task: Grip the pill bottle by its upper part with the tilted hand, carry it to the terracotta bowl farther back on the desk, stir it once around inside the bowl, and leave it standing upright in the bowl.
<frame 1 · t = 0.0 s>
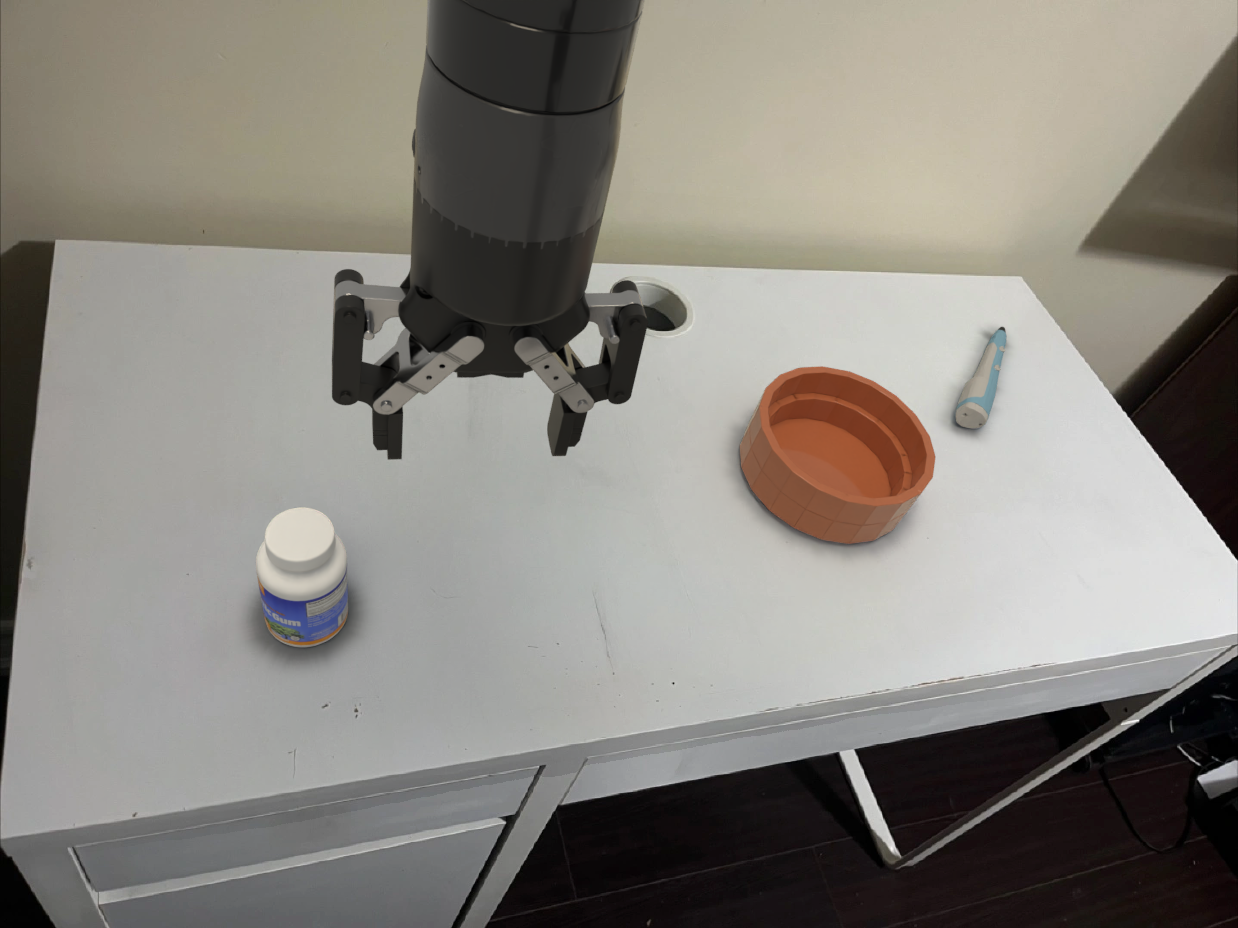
hand: (477, 445, 46), 20 cm above the table, tool pointing down, fingers open, 8 cm apart
white and blue rod: (978, 380, 92), on the table
bowl: (820, 475, 78), on the table
pill bottle: (308, 615, 59), on the table
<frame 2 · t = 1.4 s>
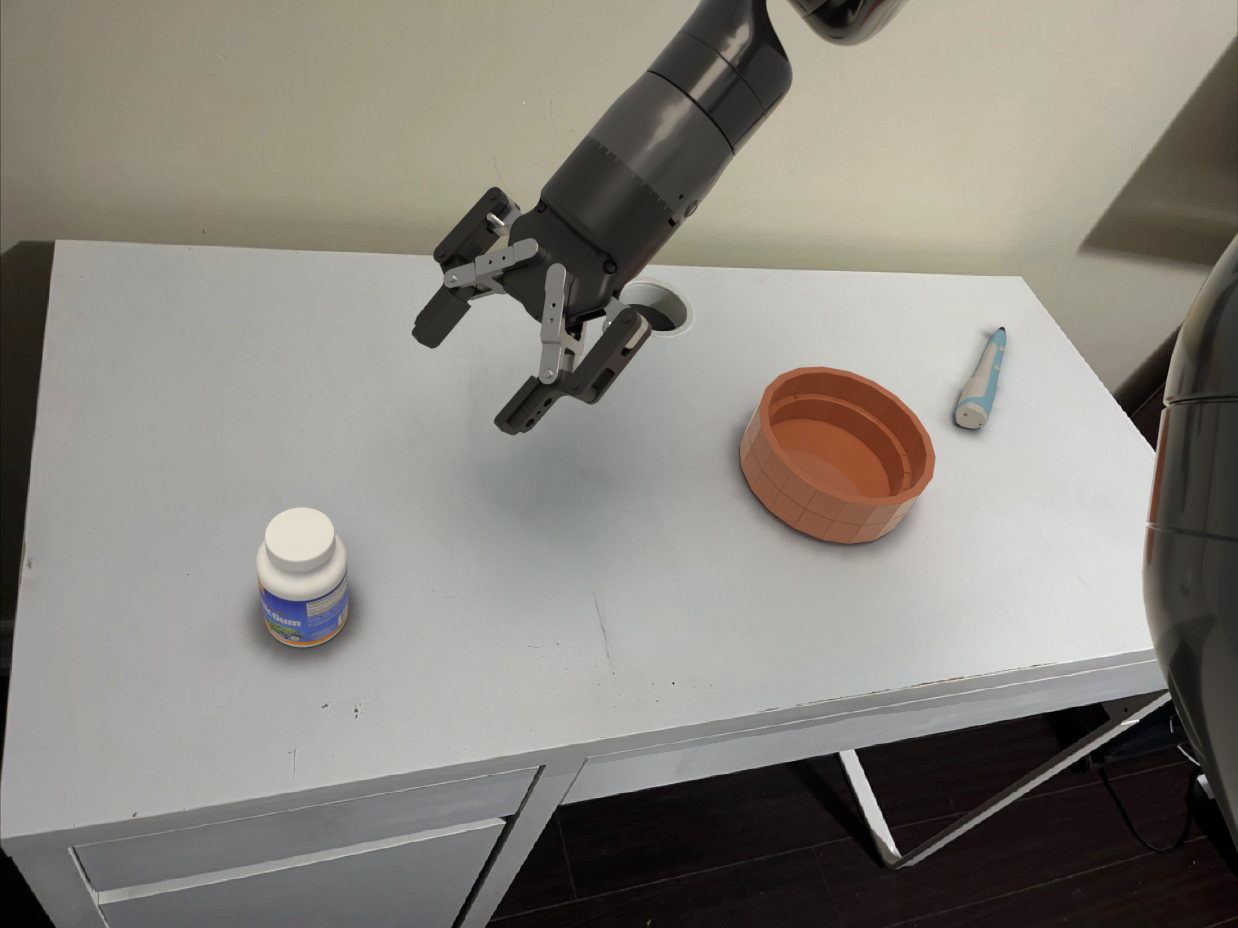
hand: (461, 385, 53), 17 cm above the table, tool tilted 45°, fingers open, 8 cm apart
nothing on the table moved.
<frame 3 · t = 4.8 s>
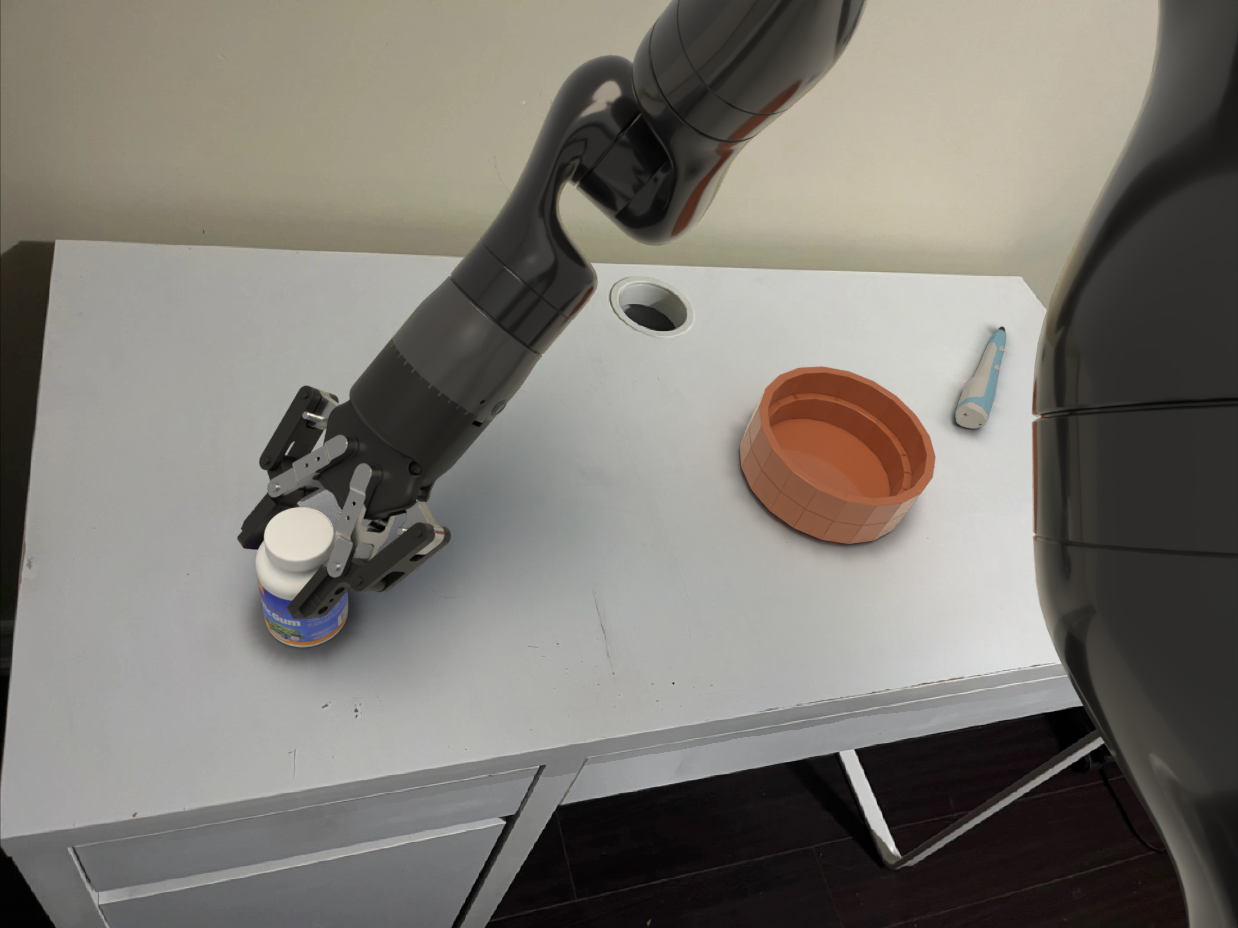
hand: (275, 579, 53), 6 cm above the table, tool tilted 45°, fingers closed on pill bottle, 5 cm apart
pill bottle: (308, 615, 59), on the table, touching gripper
everything else where it was.
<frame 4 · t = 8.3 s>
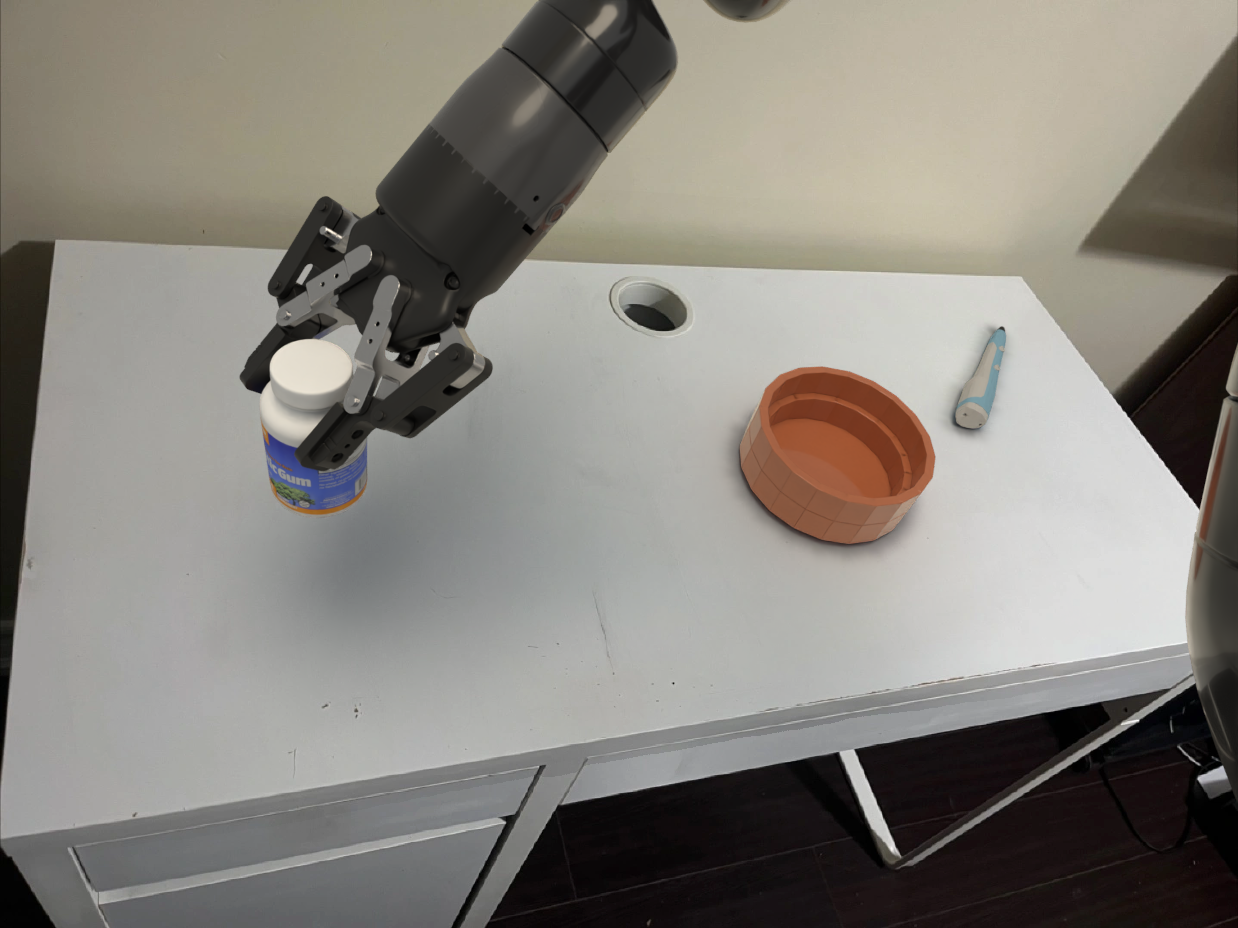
hand: (282, 425, 45), 19 cm above the table, tool tilted 45°, fingers closed on pill bottle, 5 cm apart
pill bottle: (320, 486, 51), point 13 cm above the table, touching gripper
everything else where it was.
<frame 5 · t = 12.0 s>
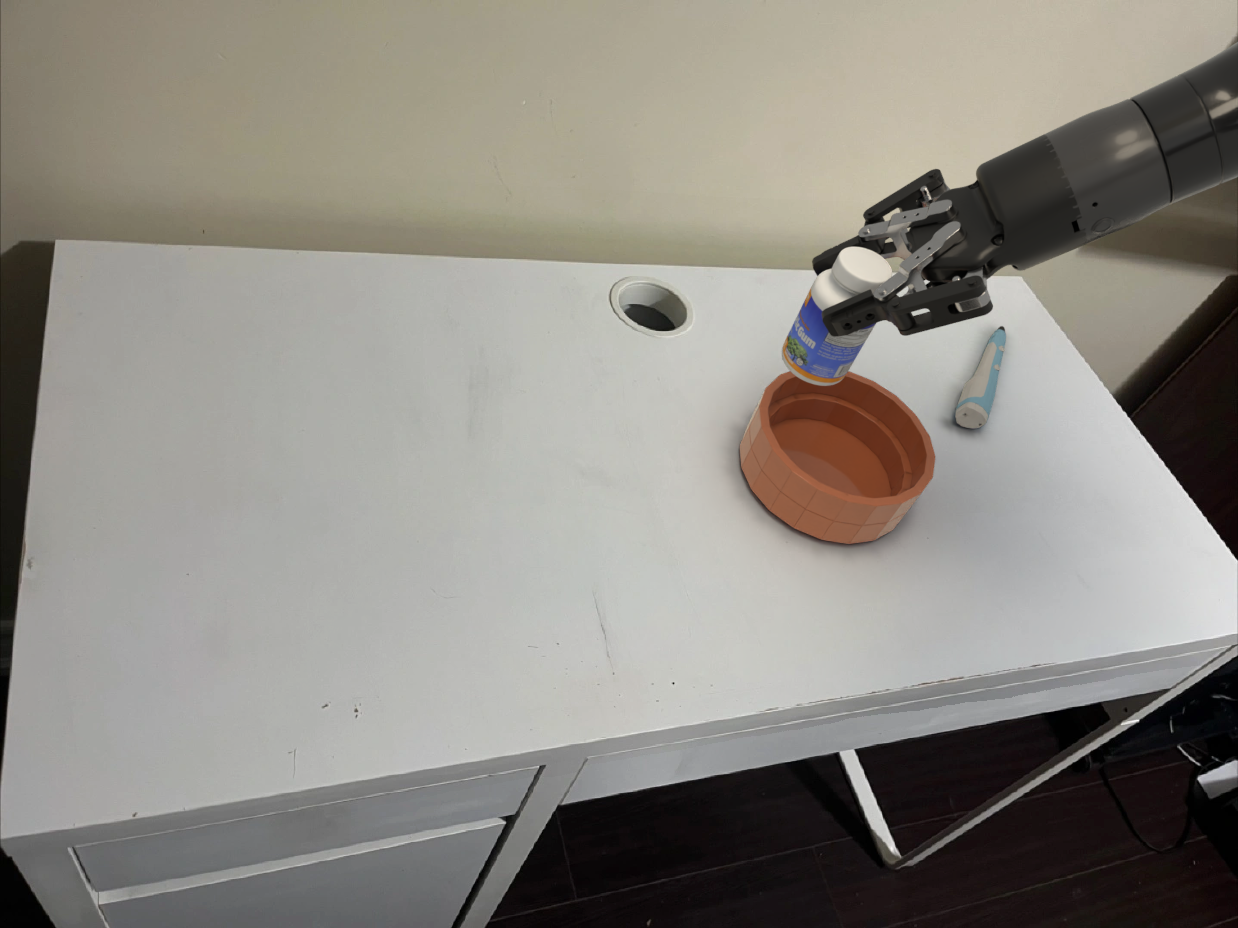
hand: (822, 297, 62), 19 cm above the table, tool tilted 45°, fingers closed on pill bottle, 5 cm apart
pill bottle: (812, 365, 67), point 13 cm above the table, touching gripper
everything else where it was.
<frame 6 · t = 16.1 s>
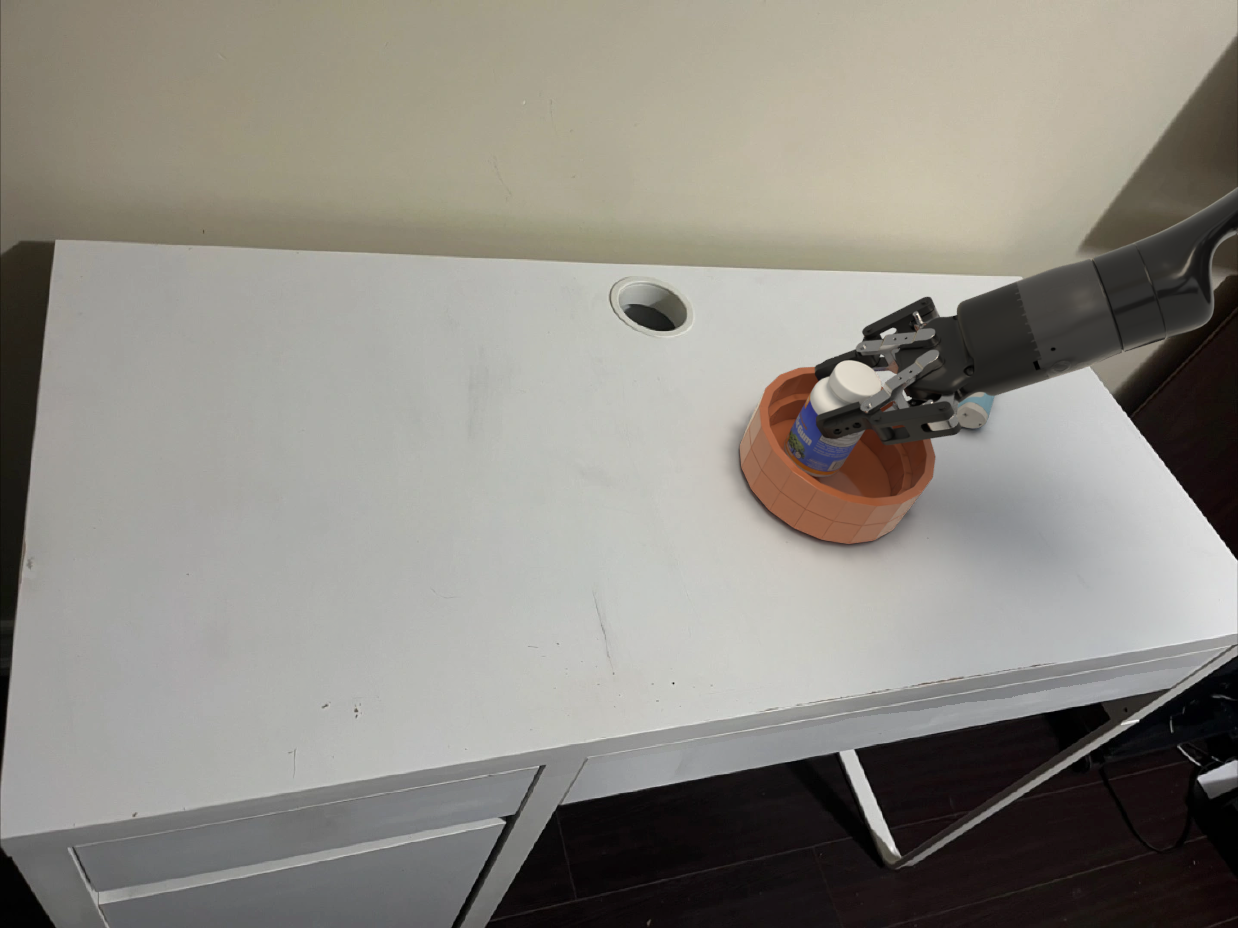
hand: (819, 402, 71), 9 cm above the table, tool tilted 45°, fingers closed on pill bottle, 5 cm apart
pill bottle: (811, 457, 76), point 2 cm above the table, touching gripper
everything else where it was.
when the fingers open (7 cm above the table, at t = 19.4 s): pill bottle stays where it is, resting on bowl.
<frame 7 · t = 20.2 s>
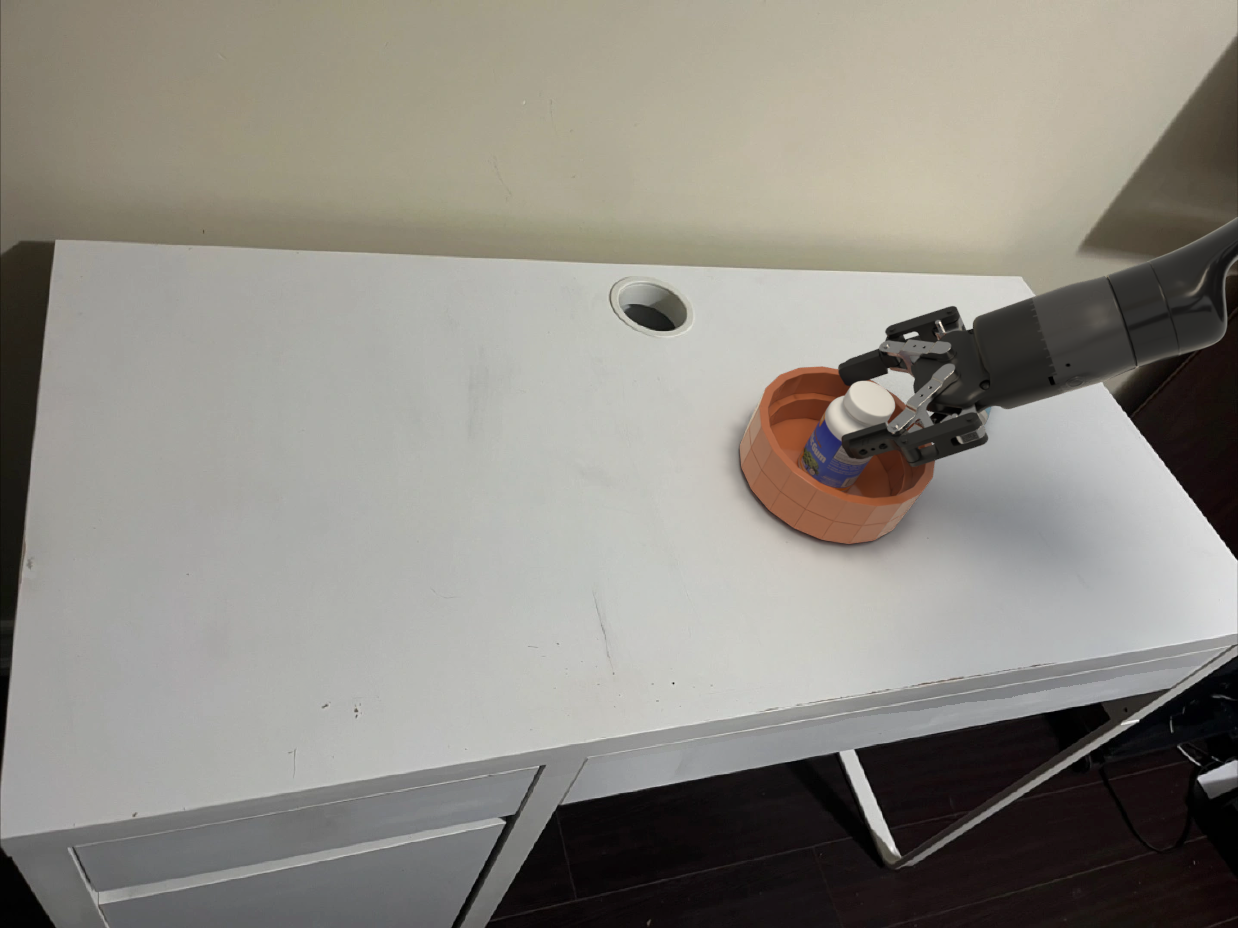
hand: (843, 410, 71), 8 cm above the table, tool tilted 45°, fingers open, 8 cm apart
pill bottle: (824, 473, 77), resting on bowl
everything else where it was.
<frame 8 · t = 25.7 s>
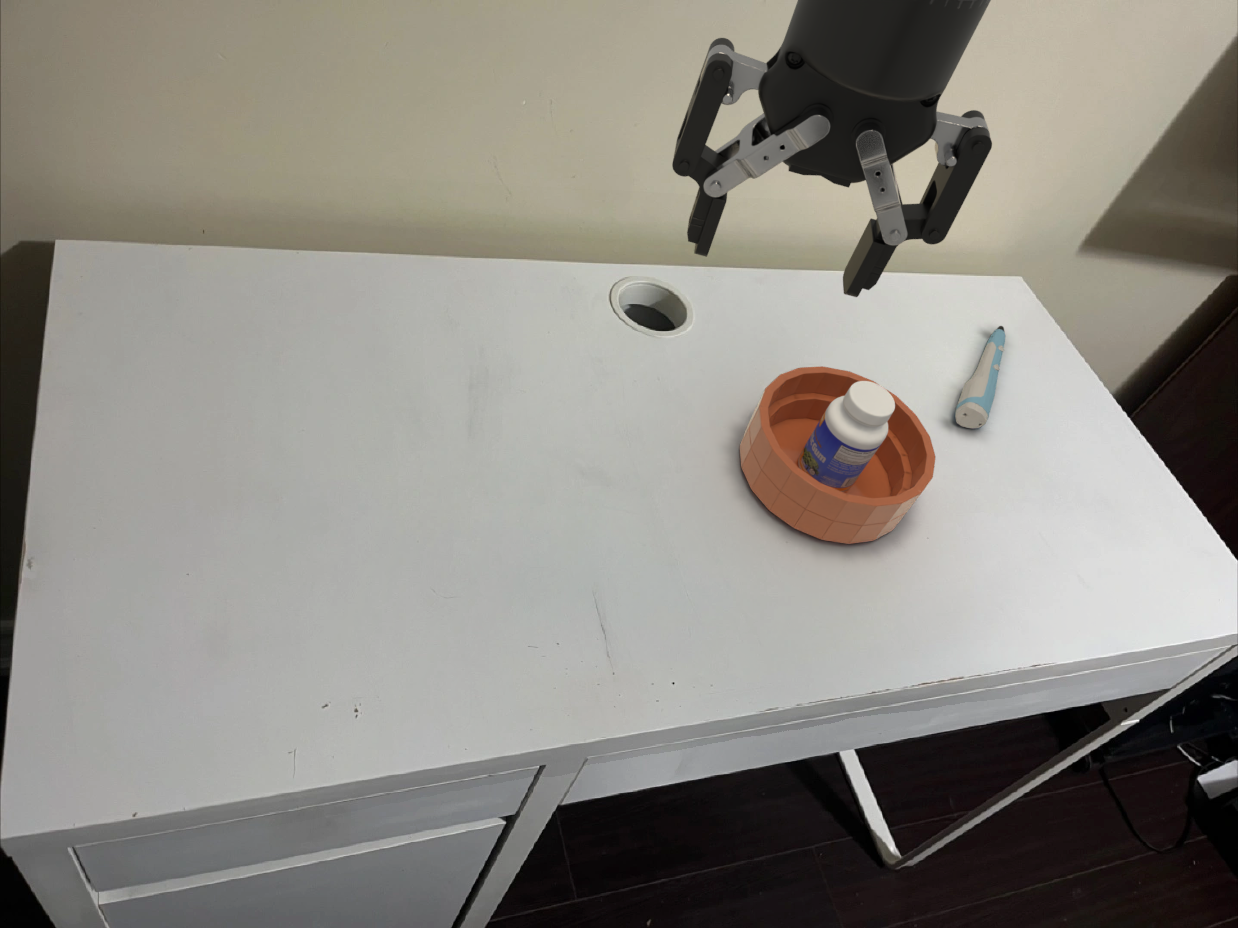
hand: (775, 267, 47), 28 cm above the table, tool pointing down, fingers open, 8 cm apart
nothing on the table moved.
at the end: pill bottle 0.2 cm off-centre in the bowl, point 0.4 cm above the bowl's base; pill bottle tilted 0°; the gripper is holding nothing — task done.
